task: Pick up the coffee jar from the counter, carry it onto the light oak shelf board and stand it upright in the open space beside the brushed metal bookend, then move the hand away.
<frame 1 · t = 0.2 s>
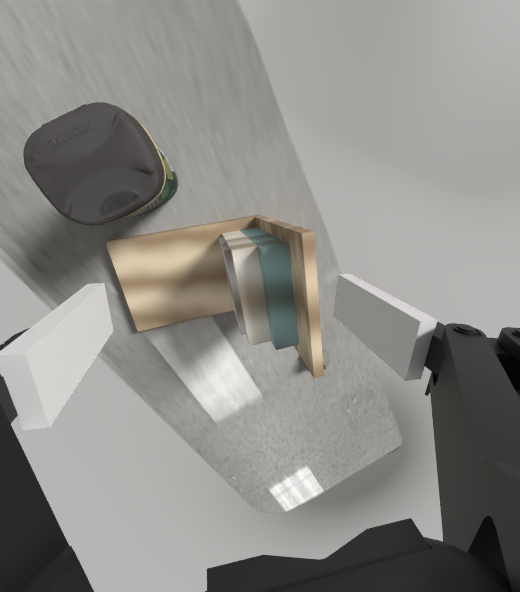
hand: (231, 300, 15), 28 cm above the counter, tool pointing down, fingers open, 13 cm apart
figurine: (313, 354, 52), on the counter
coffee jar: (141, 181, 36), on the counter
shelf: (198, 271, 42), on the counter
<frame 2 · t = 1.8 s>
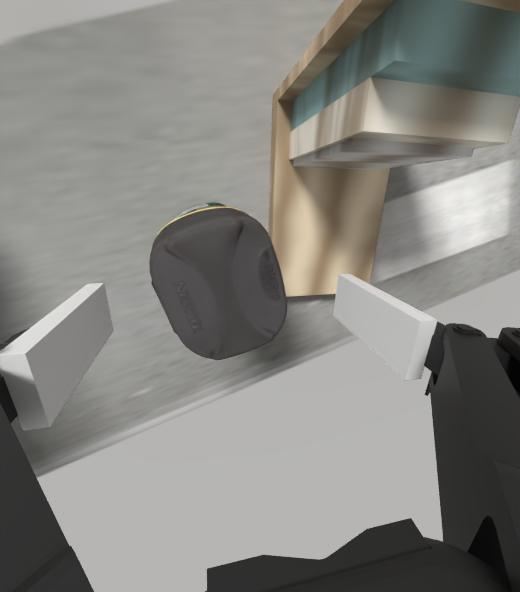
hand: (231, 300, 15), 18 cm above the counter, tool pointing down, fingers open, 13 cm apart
coffee jar: (211, 244, 32), on the counter
shelf: (323, 206, 33), on the counter
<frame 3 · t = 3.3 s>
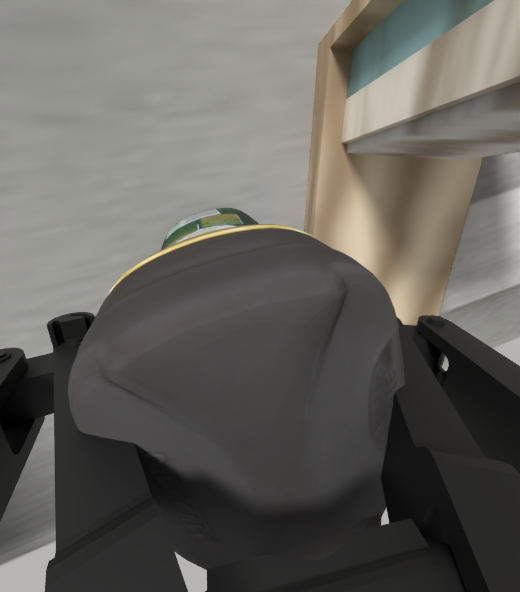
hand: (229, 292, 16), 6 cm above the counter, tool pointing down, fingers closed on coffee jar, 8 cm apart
coffee jar: (222, 266, 22), on the counter, touching gripper
shelf: (380, 212, 23), on the counter
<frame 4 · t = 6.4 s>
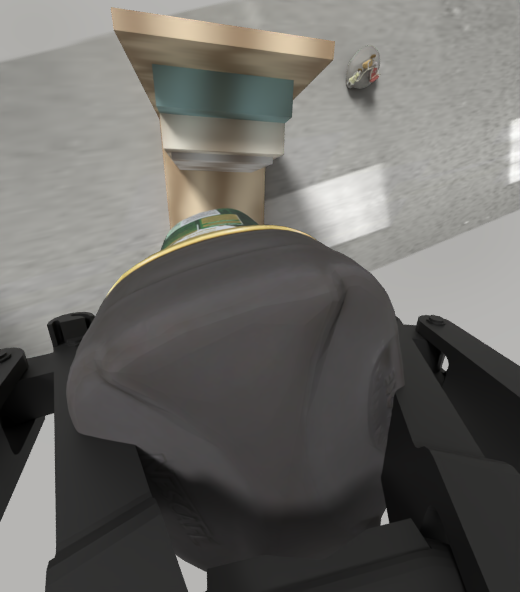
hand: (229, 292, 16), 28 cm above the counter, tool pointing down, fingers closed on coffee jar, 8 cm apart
figurine: (356, 74, 39), on the counter
coffee jar: (222, 266, 22), point 21 cm above the counter, touching gripper
shelf: (216, 202, 41), on the counter
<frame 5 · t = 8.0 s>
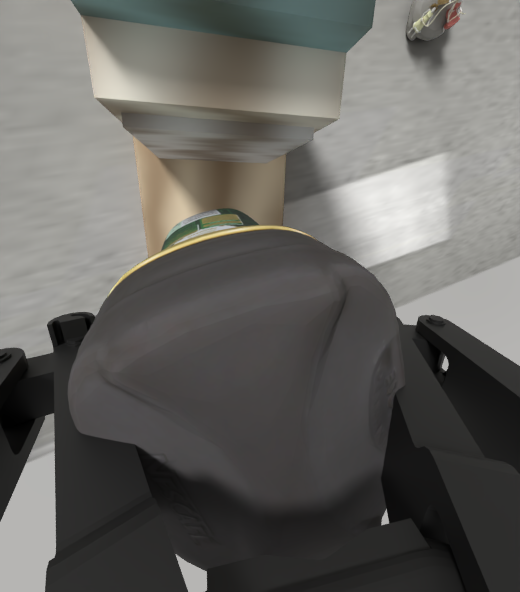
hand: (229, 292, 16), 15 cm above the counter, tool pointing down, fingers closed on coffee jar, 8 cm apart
figurine: (421, 20, 26), on the counter
coffee jar: (222, 266, 22), point 8 cm above the counter, touching gripper
shelf: (215, 206, 28), on the counter
when the fingers open (10 cm above the counter, at t = 9.4 s): coffee jar drops 1 cm, resting on shelf.
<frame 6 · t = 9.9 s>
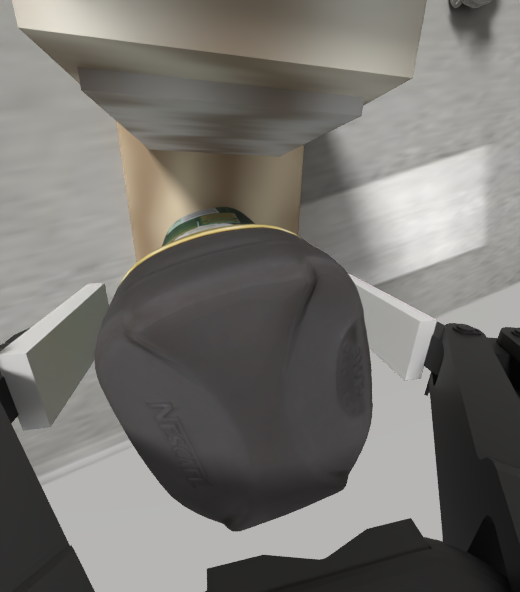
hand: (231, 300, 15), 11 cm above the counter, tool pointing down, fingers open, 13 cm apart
coffee jar: (219, 262, 24), point 2 cm above the counter, touching shelf
shelf: (218, 209, 24), on the counter
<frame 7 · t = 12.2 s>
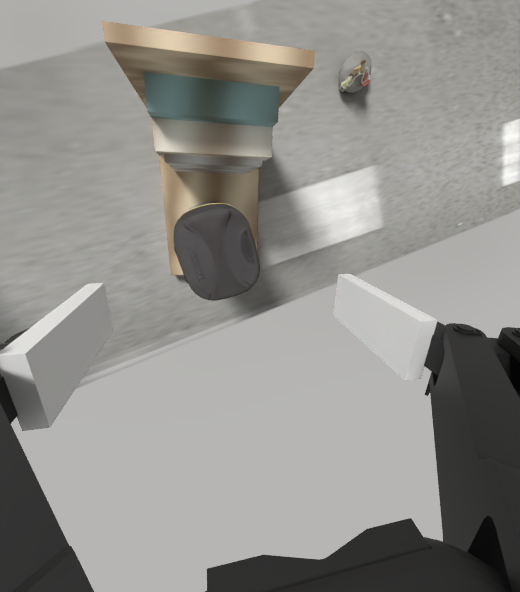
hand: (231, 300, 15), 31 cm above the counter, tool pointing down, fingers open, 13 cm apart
figurine: (348, 79, 40), on the counter
coffee jar: (212, 233, 42), point 2 cm above the counter, touching shelf
shelf: (212, 203, 42), on the counter
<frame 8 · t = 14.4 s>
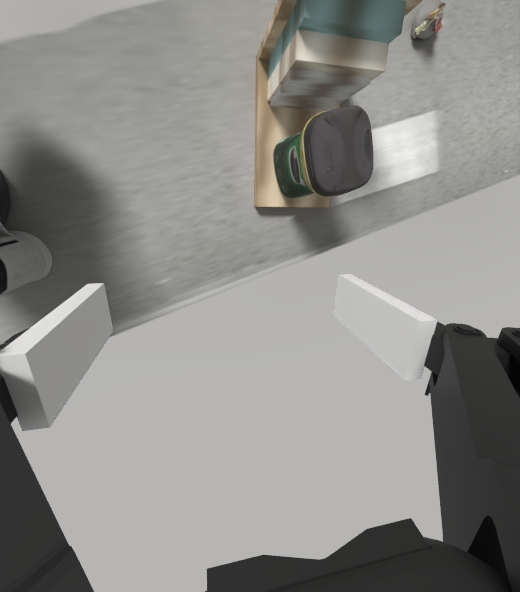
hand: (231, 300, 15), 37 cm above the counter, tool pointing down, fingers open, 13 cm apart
figurine: (419, 26, 44), on the counter
coffee jar: (294, 167, 46), point 2 cm above the counter, touching shelf
glass holder: (20, 240, 44), on the counter
shelf: (294, 140, 46), on the counter
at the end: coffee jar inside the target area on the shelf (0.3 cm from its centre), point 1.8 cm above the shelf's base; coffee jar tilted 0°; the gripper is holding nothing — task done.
